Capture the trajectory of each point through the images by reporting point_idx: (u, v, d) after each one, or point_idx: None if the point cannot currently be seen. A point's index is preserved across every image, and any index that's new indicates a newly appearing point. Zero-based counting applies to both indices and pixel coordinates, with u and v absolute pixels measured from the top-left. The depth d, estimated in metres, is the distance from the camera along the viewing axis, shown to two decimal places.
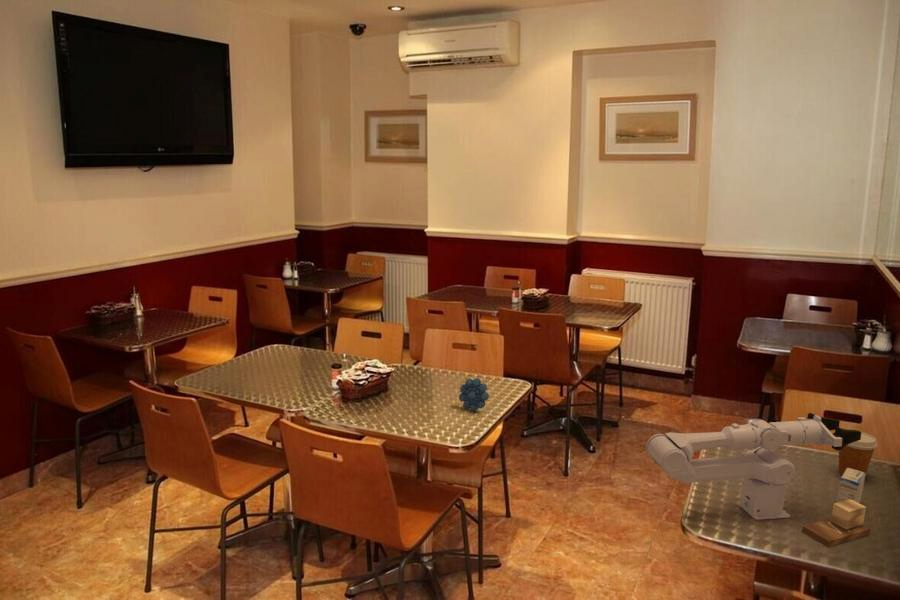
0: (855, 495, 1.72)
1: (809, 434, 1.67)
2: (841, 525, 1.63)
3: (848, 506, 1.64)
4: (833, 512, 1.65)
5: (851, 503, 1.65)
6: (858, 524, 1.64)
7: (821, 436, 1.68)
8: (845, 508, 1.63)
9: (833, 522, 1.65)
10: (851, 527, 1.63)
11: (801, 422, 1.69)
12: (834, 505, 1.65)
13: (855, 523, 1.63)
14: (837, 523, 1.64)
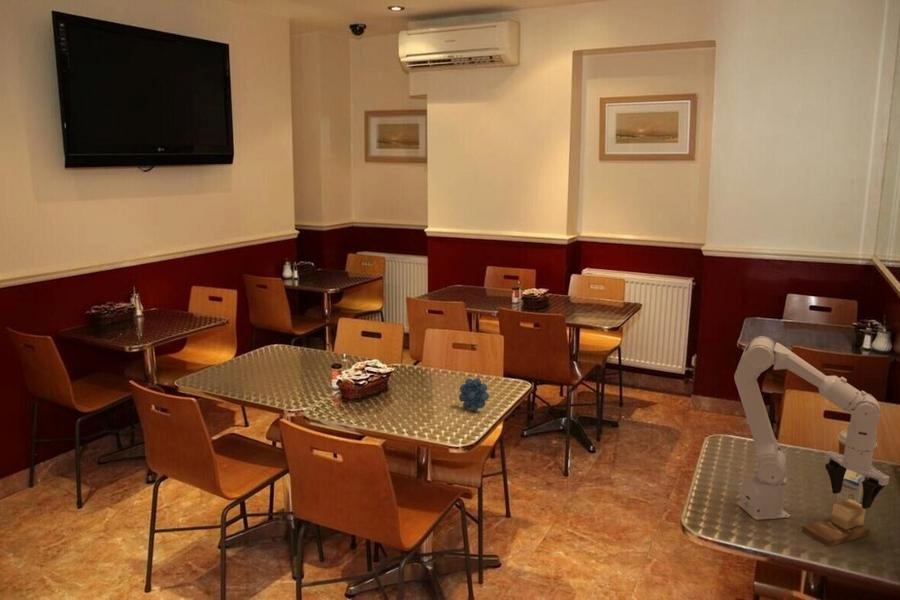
0: (855, 495, 1.72)
1: (871, 454, 1.59)
2: (841, 525, 1.63)
3: (848, 506, 1.64)
4: (833, 512, 1.65)
5: (851, 503, 1.65)
6: (858, 524, 1.64)
7: (868, 468, 1.59)
8: (845, 508, 1.63)
9: (833, 522, 1.65)
10: (851, 527, 1.63)
11: None
12: (834, 505, 1.65)
13: (855, 523, 1.63)
14: (837, 523, 1.64)
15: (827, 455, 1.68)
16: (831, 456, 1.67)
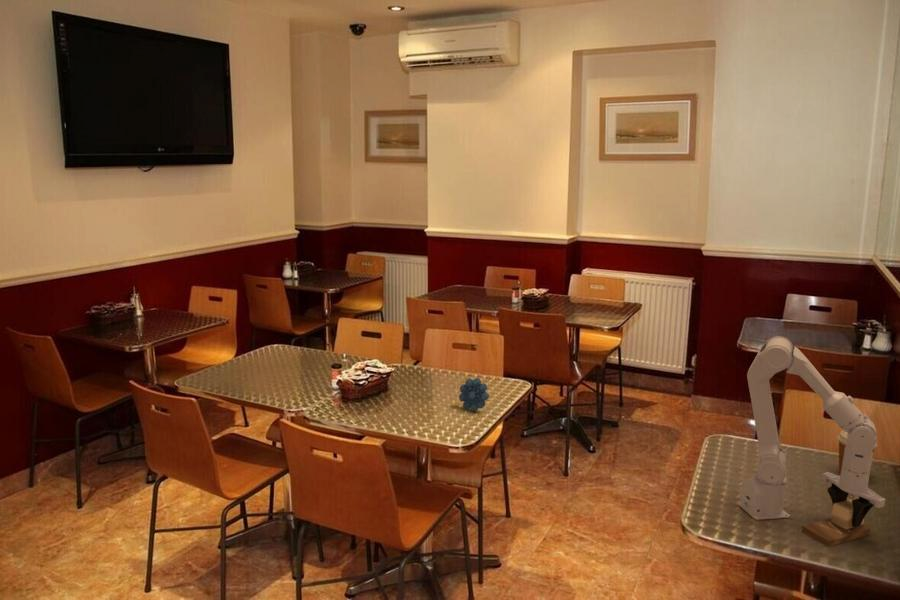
0: (855, 495, 1.72)
1: (867, 477, 1.60)
2: (841, 525, 1.63)
3: (848, 506, 1.64)
4: (833, 512, 1.65)
5: (851, 503, 1.65)
6: None
7: (864, 490, 1.61)
8: (845, 508, 1.63)
9: (833, 522, 1.65)
10: (851, 527, 1.63)
11: None
12: (834, 505, 1.65)
13: None
14: (837, 523, 1.64)
15: (824, 476, 1.69)
16: (828, 477, 1.68)
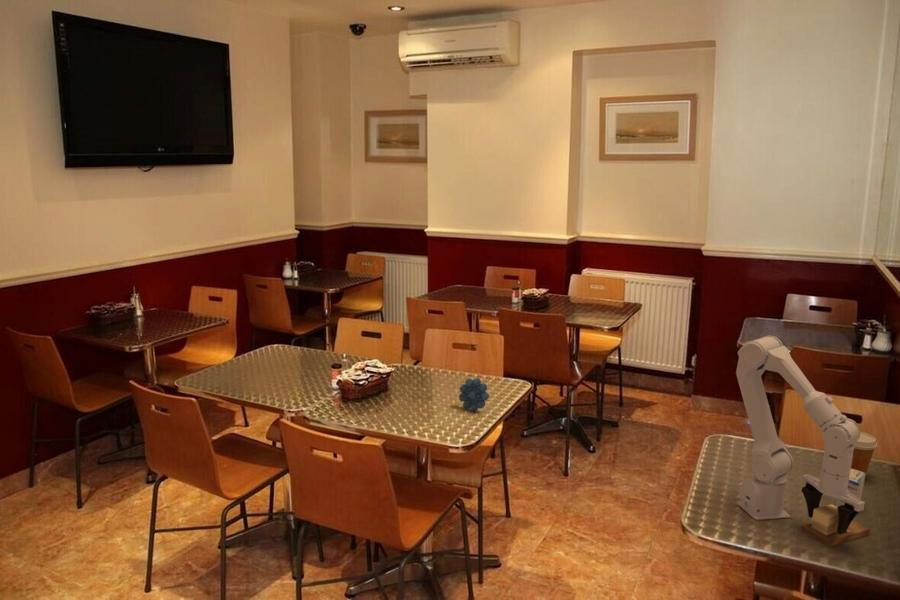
0: (855, 495, 1.72)
1: (847, 479, 1.57)
2: (821, 531, 1.61)
3: (828, 512, 1.61)
4: (814, 517, 1.62)
5: (832, 508, 1.63)
6: None
7: (843, 493, 1.58)
8: (825, 514, 1.60)
9: (813, 528, 1.63)
10: (831, 533, 1.60)
11: None
12: (814, 510, 1.62)
13: (836, 529, 1.61)
14: (817, 529, 1.62)
15: (804, 478, 1.66)
16: (807, 480, 1.65)
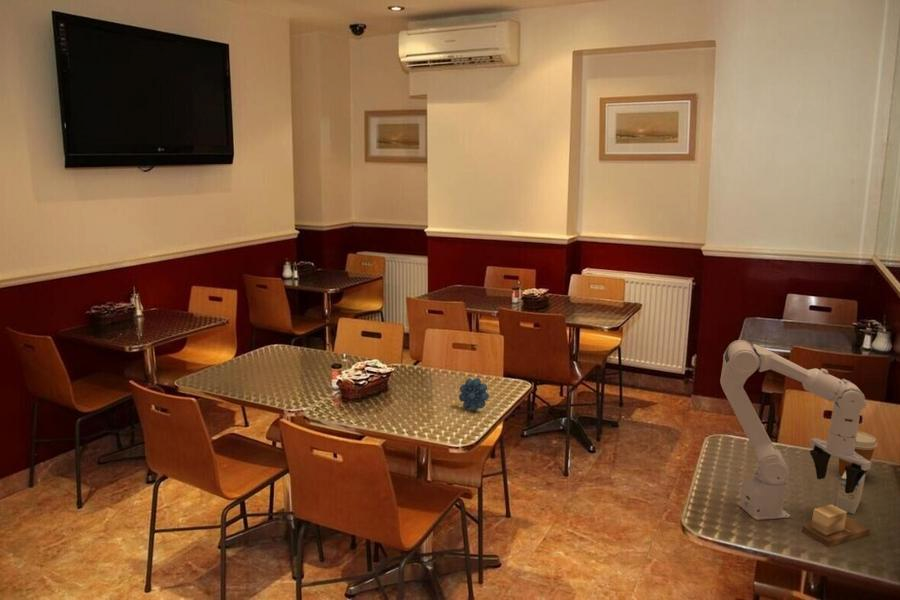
0: (855, 495, 1.72)
1: (854, 440, 1.63)
2: (821, 531, 1.61)
3: (828, 512, 1.61)
4: (814, 517, 1.62)
5: (832, 508, 1.63)
6: (838, 529, 1.61)
7: (851, 453, 1.63)
8: (825, 514, 1.60)
9: (813, 528, 1.63)
10: (831, 533, 1.60)
11: None
12: (814, 510, 1.62)
13: (836, 529, 1.61)
14: (817, 529, 1.62)
15: (812, 442, 1.72)
16: (816, 442, 1.71)
